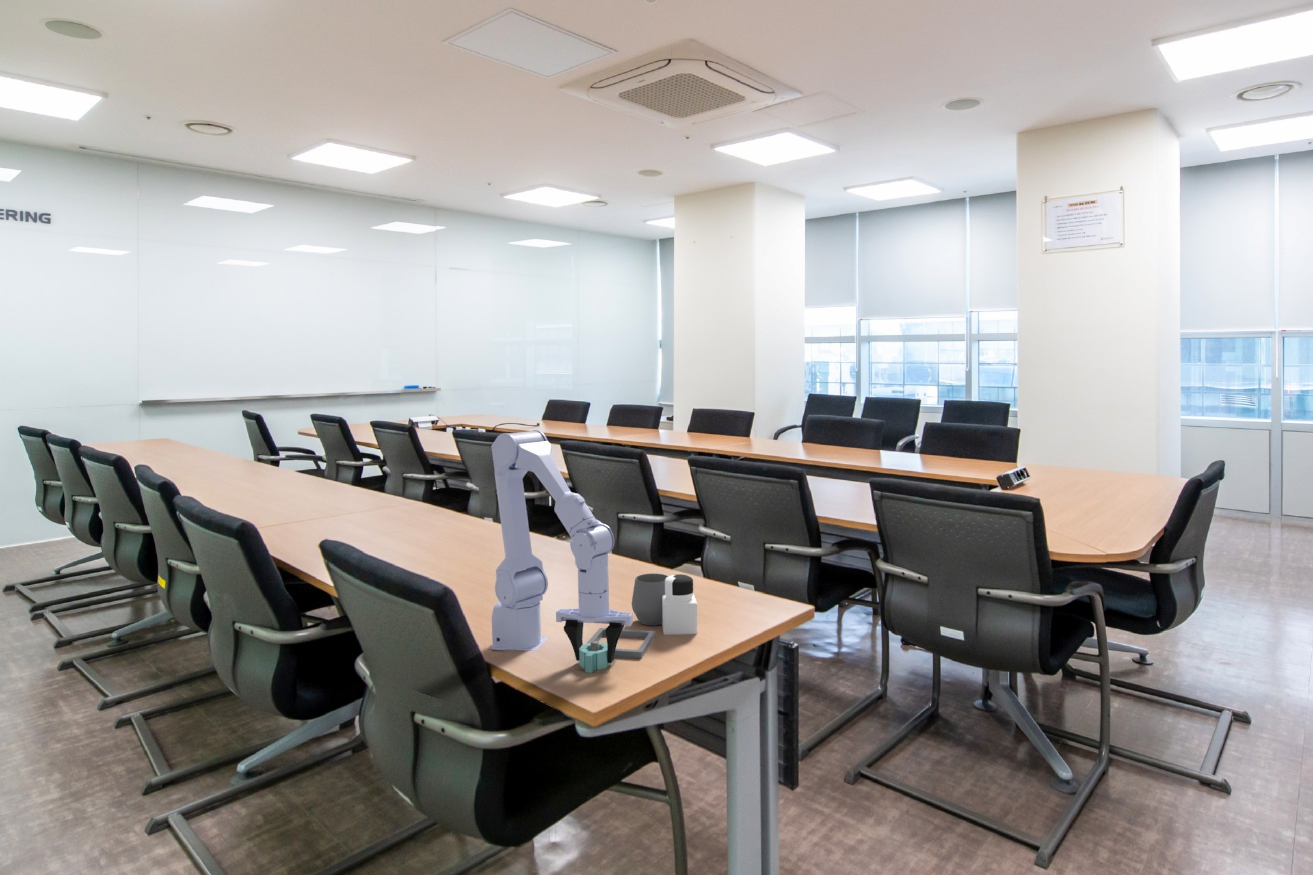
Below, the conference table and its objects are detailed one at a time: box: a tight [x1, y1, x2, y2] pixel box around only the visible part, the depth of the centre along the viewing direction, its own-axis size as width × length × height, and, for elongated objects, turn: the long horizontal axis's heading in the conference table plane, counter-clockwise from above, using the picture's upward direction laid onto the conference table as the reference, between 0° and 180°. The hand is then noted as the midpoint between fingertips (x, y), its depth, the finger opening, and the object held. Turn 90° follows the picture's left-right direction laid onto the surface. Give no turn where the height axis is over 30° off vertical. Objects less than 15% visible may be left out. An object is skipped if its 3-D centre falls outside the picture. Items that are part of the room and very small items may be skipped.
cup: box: [631, 572, 670, 626], centre depth 170 cm, size 10×9×10 cm
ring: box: [578, 642, 611, 674], centre depth 144 cm, size 7×6×3 cm
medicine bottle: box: [661, 574, 698, 636], centre depth 163 cm, size 7×7×12 cm
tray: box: [585, 627, 656, 659], centre depth 154 cm, size 12×12×2 cm
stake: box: [571, 641, 618, 674], centre depth 144 cm, size 7×7×5 cm
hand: (595, 659), depth 145 cm, fingers closed on ring, 6 cm apart
